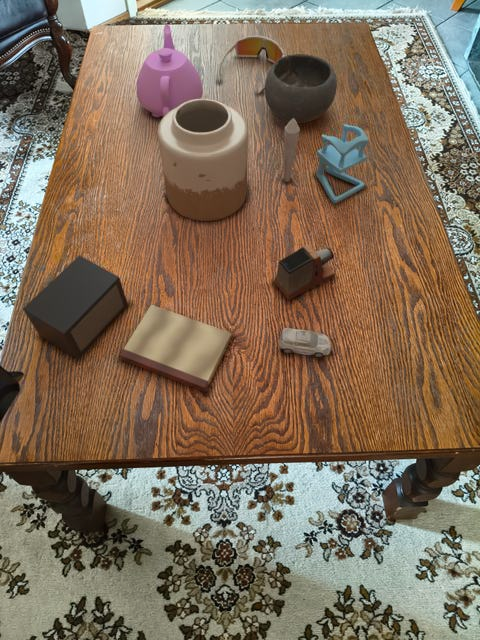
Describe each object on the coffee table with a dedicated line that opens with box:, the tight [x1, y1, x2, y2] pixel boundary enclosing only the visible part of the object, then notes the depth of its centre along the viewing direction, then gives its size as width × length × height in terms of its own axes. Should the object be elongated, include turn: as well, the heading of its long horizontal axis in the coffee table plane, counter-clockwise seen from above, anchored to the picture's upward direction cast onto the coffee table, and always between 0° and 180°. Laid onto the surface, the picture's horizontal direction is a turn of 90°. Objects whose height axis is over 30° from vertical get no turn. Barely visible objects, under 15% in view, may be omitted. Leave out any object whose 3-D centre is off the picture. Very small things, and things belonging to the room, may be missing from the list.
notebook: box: [118, 304, 233, 393], centre depth 77 cm, size 14×10×2 cm
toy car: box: [278, 327, 332, 358], centre depth 77 cm, size 4×8×3 cm, turn 82°
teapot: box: [136, 24, 204, 118], centre depth 107 cm, size 20×14×12 cm
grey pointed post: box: [283, 118, 301, 183], centre depth 93 cm, size 2×3×14 cm
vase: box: [157, 98, 249, 222], centre depth 90 cm, size 15×15×17 cm
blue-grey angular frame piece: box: [315, 123, 370, 204], centre depth 93 cm, size 8×8×12 cm
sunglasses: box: [218, 34, 286, 95], centre depth 118 cm, size 14×15×5 cm
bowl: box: [264, 53, 338, 124], centre depth 106 cm, size 15×15×10 cm
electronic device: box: [274, 243, 336, 301], centre depth 82 cm, size 4×10×8 cm, turn 121°
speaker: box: [22, 254, 129, 361], centre depth 78 cm, size 12×8×8 cm
